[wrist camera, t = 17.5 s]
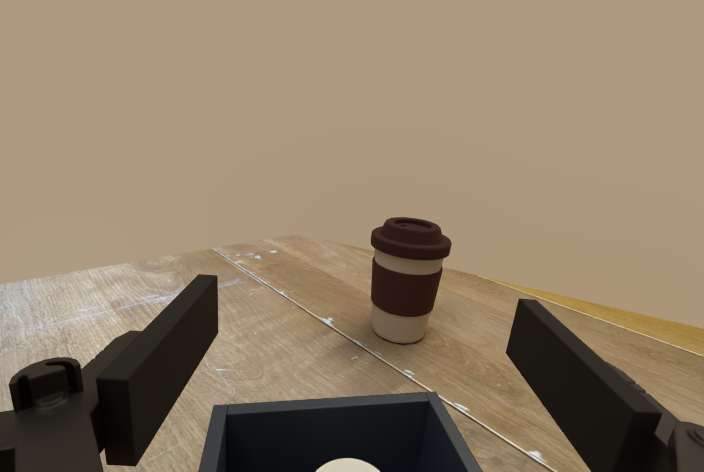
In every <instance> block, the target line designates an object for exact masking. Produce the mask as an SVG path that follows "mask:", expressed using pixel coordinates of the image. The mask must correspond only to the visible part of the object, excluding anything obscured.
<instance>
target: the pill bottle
mask: <svg viewBox="0 0 704 472" xmlns="http://www.w3.org/2000/svg"><path fill="white" fill-rule="evenodd" d="M316 472H380V471H379V470H378V469H377V468H375V467H374V466H372V465H371V464H369V463H367V462H364V461H362V460H358V459H352V458H342V459H336V460H333V461H330V462H328V463H326V464H324V465H323V466H321V467H320V468H319V469H318V470H317V471H316Z"/></svg>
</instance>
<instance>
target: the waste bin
mask: <svg viewBox="0 0 704 472" xmlns="http://www.w3.org/2000/svg"><path fill="white" fill-rule="evenodd" d="M342 458H352V459H358V460H362V461H364V462H367V463H369V464H371V465H372V466H374V467H375V468H377V469H378V470H379V471H380V472H483V471H482V470H481V468H480V466H479V464H478V463H477V461H476V459H475V458H474V456H473V454H472V453H471V451H470V449H469V447H468V446H467V444H466V442H465V441H464V439H463V437H462V435H461V434H460V432H459V430H458V429H457V427H456V425H455V423H454V422H453V420H452V418H451V417H450V415H449V413H448V411H447V410H446V408H445V406H444V405H443V403H442V401H441V400H440V398H439V396H438V394H437V393H436V392H425V393H424V392H419V393H403V394H387V395H371V396H355V397H339V398H323V399H307V400H291V401H275V402H260V403H244V404H229V405H214V406H213V410H212V415H211V419H210V423H209V428H208V432H207V436H206V441H205V445H204V449H203V454H202V458H201V462H200V467H199V471H198V472H316V471H317V470H318V469H319V468H320V467H321V466H323V465H324V464H326V463H328V462H330V461H333V460H336V459H342Z"/></svg>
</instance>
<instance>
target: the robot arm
mask: <svg viewBox="0 0 704 472" xmlns="http://www.w3.org/2000/svg"><path fill="white" fill-rule="evenodd" d="M217 334H218V286H217V276H215V275H201V274H199V275H198V276H197V277H196V278H195V279H194V280H193V281H192V282H191V283H190V284H189V285H188V286H187V287H186V288H185V289H184V290H183V291H182V292H181V293H180V294H179V295H178V296H177V297H176V298H175V299H174V300H173V301H172V302H171V303H170V304H169V305H168V306H167V307H166V308H165V309H164V310H163V311H162V312H161V313H160V314H159V315H158V316H157V317H156V318H155V319H154V320H153V321H152V322H151V323H150V324H149V325H148V326H147V327H146V328H145V329H144V330H143V331H129V332H127V333H125V334H123V335H121V336H119V337H117V338H115V339H114V340H113V341H112V342H111V343H110V344H109V345H108V346H106V347H105V348H104V350H102V351H101V352H100V353H99V354H98V355H97V356H96V357H95V359H92V360H91V361H90V362H89V363H88V364H87V365H86V366H85V367H84V368H82V369H81V366H80V363H79V362H78V361H77V360H76V359H72V358H69V357H57V358H52V359H46V360H43V361H40V362H37V363H34V364H31V365H29V366H27V367H26V368H24V369H22V370H20V371H19V372H18V373H17V374H15V375H14V376H13V377H12V378H11V381H10V383H9V388H10V393H11V398H12V402H13V407H14V410H11V411H4V412H0V472H103V467H102V463H101V459H100V453H101V452H102V451H103V449H104V448H105V455H106V463H107V465H122V466H136V465H137V464H138V462H139V460H140V459H141V457H142V456H143V454H144V452H145V451H146V449H147V447H148V446H149V444H150V443H151V441H152V439H153V438H154V436H155V434H156V433H157V431H158V430H159V428H160V426H161V425H162V423H163V422H164V420H165V418H166V417H167V415H168V413H169V412H170V410H171V409H172V407H173V405H174V404H175V402H176V400H177V399H178V397H179V396H180V394H181V392H182V391H183V389H184V387H185V386H186V384H187V383H188V381H189V379H190V378H191V376H192V375H193V373H194V371H195V370H196V368H197V366H198V365H199V363H200V362H201V360H202V358H203V357H204V355H205V353H206V352H207V350H208V349H209V347H210V345H211V344H212V342H213V340H214V339H215V337H216V336H217ZM506 354H507V355H508V357H509V358H510V359H511V361H512V362H513V363H514V365H515V366H516V368H517V369H518V370H519V372H520V373H521V375H522V376H523V377H524V379H525V380H526V382H527V383H528V384H529V386H530V387H531V388H532V390H533V391H534V393H535V394H536V395H537V397H538V398H539V400H540V401H541V402H542V404H543V405H544V407H545V408H546V409H547V411H548V412H549V413H550V415H551V416H552V418H553V419H554V420H555V422H556V423H557V425H558V426H559V427H560V429H561V430H562V432H563V433H564V434H565V436H566V437H567V438H568V440H569V441H570V443H571V444H572V445H573V447H574V448H575V450H576V451H577V452H578V454H579V455H580V457H581V458H582V459H583V461H584V462H585V463H586V465H587V466H588V468H589V469H590V470H591V472H704V427H703V426H700V425H697V424H694V423H690V422H683V421H682V422H681V421H679V420H678V419H677V418H676V417H675V416H674V415H672V414H671V413H670V412H669V411H668V410H667V409H666V408H664V407H663V406H662V405H661V404H660V403H659V402H658V401H656V400H655V399H654V398H653V397H652V396H651V395H650V394H648V393H646V391H645V390H644V389H643V388H641V387H640V386H639V385H637V384H636V382H635V381H633V380H632V379H631V378H630V377H629V376H628V375H627V374H625V373H624V372H623V371H621V370H620V369H618V368H616V367H615V366H613V365H611V364H610V363H608V362H605V361H604V360H602V359H601V358H600V357H599V356H598V355H597V354H596V353H595V352H594V351H592V350H591V349H590V348H589V347H588V346H587V345H586V344H585V343H583V342H582V341H581V340H580V339H579V338H578V337H577V336H576V335H575V334H573V333H572V332H571V331H570V330H569V329H568V328H567V327H566V326H564V325H563V324H562V323H561V322H560V321H559V320H558V319H557V318H556V317H554V316H553V315H552V314H551V313H550V312H549V311H548V310H547V309H545V308H544V307H543V306H542V305H541V304H540V303H539V302H538V301H537V300H530V299H519V301H518V305H517V309H516V313H515V317H514V321H513V325H512V329H511V333H510V338H509V342H508V346H507V350H506Z"/></svg>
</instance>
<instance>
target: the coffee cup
mask: <svg viewBox="0 0 704 472" xmlns="http://www.w3.org/2000/svg"><path fill="white" fill-rule="evenodd" d="M371 245H372V246H373V247H374V248H375V256H374V257H373V264H372V288H371V300H372V328H373V330H374V331H375V333H376V334H377V335H379V336H380V337H382V338H384V339H386V340H388V341H391V342H395V343H413V342H416V341H419V340H420V339H421V338H422V337H423V336H424V334H425V331H426V327H427V323H428V319H429V315H430V312H431V311H432V309H433V306H434V302H435V298H436V294H437V290H438V286H439V282H440V278H441V274H442V262H443V258H445V257H447V256H448V255H449V253H450V248H451V241H450V239H449V238H447V237H446V236H444V235H442V233H441V228H440V227H439V226H438V225H436V224H435V223H432V222H429V221H425V220H420V219H415V218H405V217H396V218H390V219H387V220H386V222H385V223H384V225H383V227H378V228H376V229H374V230H373V231H372V235H371Z"/></svg>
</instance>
